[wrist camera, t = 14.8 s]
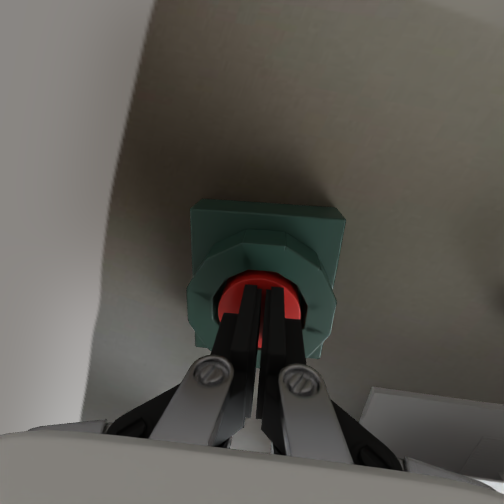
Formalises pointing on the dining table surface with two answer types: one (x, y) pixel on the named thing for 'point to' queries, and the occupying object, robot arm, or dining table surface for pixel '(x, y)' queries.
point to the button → (264, 281)
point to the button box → (264, 260)
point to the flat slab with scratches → (440, 431)
